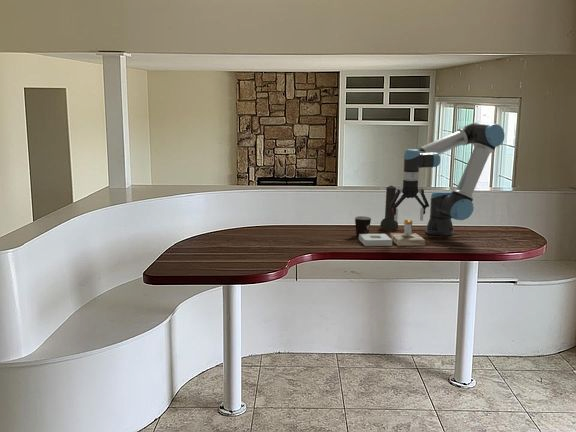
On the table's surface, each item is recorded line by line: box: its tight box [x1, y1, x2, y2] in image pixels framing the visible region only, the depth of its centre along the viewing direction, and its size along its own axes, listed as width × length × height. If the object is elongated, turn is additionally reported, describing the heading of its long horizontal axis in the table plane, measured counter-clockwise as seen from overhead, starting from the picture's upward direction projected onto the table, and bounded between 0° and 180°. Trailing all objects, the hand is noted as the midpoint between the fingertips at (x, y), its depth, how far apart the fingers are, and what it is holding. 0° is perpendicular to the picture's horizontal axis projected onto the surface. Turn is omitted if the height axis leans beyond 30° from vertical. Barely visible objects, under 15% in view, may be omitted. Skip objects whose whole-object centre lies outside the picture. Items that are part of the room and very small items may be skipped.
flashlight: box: [379, 185, 399, 232], centre depth 358 cm, size 10×25×10 cm
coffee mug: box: [354, 215, 372, 238], centre depth 341 cm, size 12×9×10 cm
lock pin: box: [403, 219, 413, 238], centre depth 329 cm, size 4×4×12 cm
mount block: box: [358, 233, 393, 247], centre depth 328 cm, size 14×14×3 cm
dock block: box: [389, 232, 426, 247], centre depth 330 cm, size 14×14×3 cm
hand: (408, 220), depth 328 cm, fingers open, 13 cm apart
